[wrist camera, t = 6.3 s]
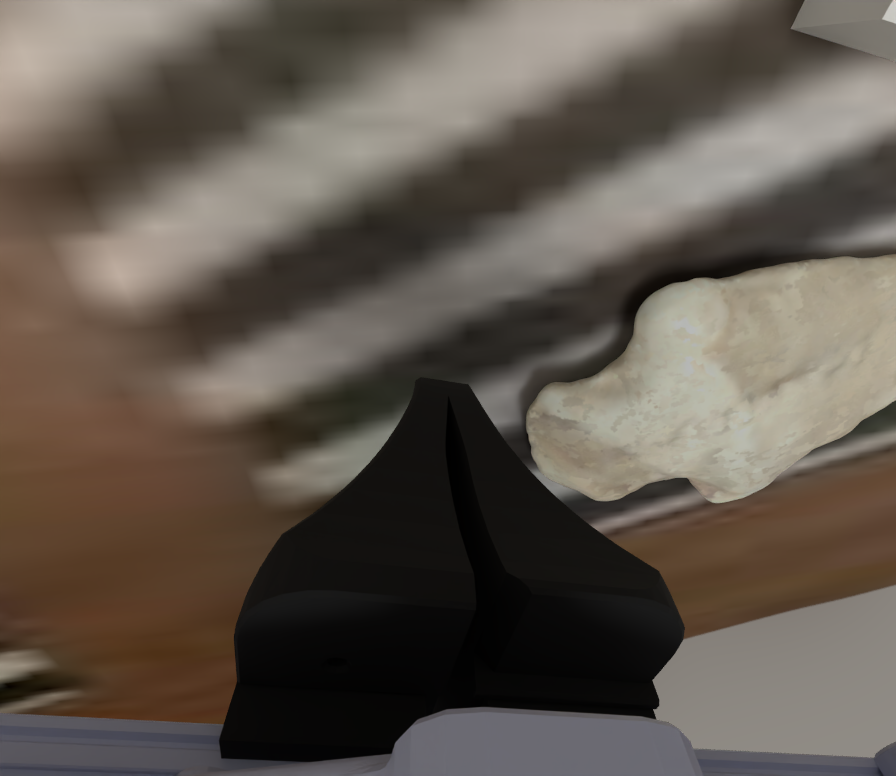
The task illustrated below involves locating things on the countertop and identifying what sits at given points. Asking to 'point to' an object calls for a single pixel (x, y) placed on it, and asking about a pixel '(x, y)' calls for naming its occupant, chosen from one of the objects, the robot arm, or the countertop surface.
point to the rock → (727, 381)
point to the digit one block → (852, 24)
